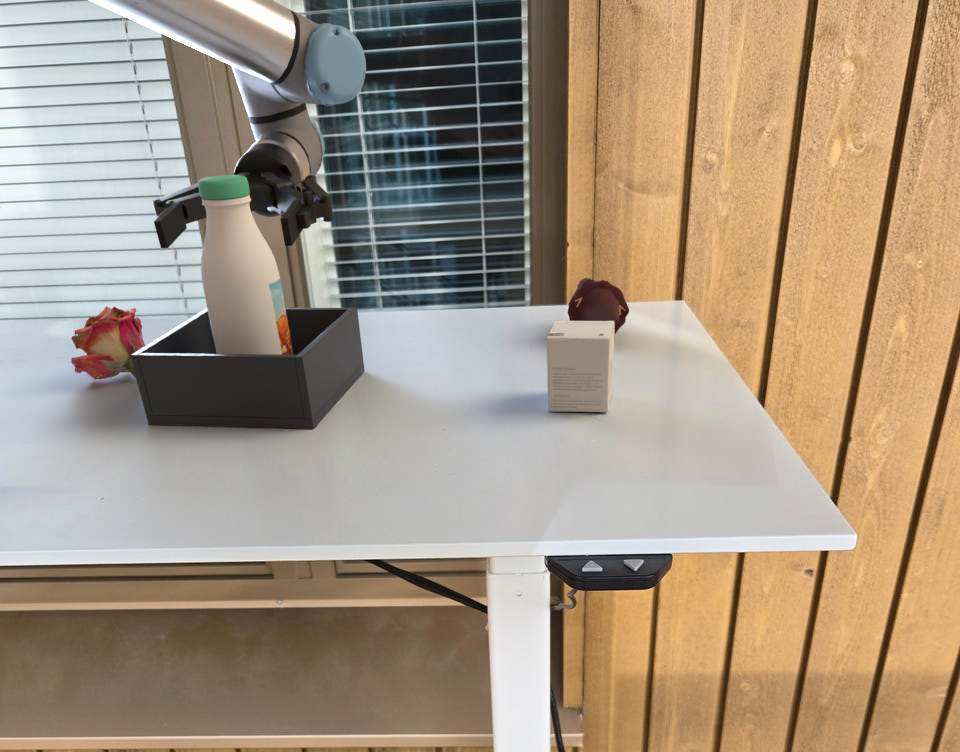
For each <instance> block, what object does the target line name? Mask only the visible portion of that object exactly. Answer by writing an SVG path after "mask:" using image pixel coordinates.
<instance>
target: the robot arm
mask: <svg viewBox="0 0 960 752" xmlns="http://www.w3.org/2000/svg"><path fill="white" fill-rule="evenodd" d="M89 1H90V2H92V3H94V4H96V5H99V6H101V7H103V8H105V9H108V10H109V11H112V12H113V13H116V14H118V15H120V16H123V17H125V18H127V19H129V20H132V21H133V22H136V23H138V24H140V25H142V26H144V27H146V28H149V29H151V30H153V31H155V32H157V33H160V34H162V35H164V36H166V37H169V38H171V39H173V40H175V41H177V42H179V43H182V44H184V45H186V46H188V47H191V48H192V49H195V50H197V51H199V52H201V53H203V54H206V55H208V56H210V57H212V58H213V59H214V58H215V59H216V60H219V61H220V62H223V63H225V64H228V65H230V66H231V69H232V72H233V75H234V78H235V81H236V84H237V88H238V90H239V93H240V95H241V99H242V102H243V105H244V107H245V110H246V114H247V118H248V121H249V124H250V128H251V131H252V132H253V137H254V140H255V142H254V143H253V144H252V145H251V146H250V147H249V148H248V149H247V150H246V152H244V154H242V156H241V157H240V158H239V159H238V160H237V163H236V165H235V167H234V171H233V175H242V176H245V177H246V178H247V180H248V184H249V191H250V194H249V195H250V199H251V201H250V203H249V205H250V210H251V212H253V213H254V214H257V215H259V216H262V217H266V218H274V217H275V218H276V217H279V216H281V215H282V216H281V217H280V219H279V220H280V224H281V230H282V236H283V242H284V246H285V247H292V246H294V244H295V242H296V241H297V239H298V238H299V236H300V234H301V233H302V231H303V230H307V229H309V228H310V227H311V226H312V225H314V224H316V223H317V219H321V220H322V222H326V223H330V222H333V221H334V220H335V219H334V212H333V206H332V198H331V195H330V194H329V193H328V192H326V190H325V189H324V188H323V187H321V185H320V184H319V183H318V182H317V181H318V180H317V176H316V175H317V174H318V172H319V171H320V169H321V167H322V162H323V159H324V156H325V150H326V145H325V140H324V136H323V134H322V132H321V130H320V128H319V127H318V126H317V124H316V123H315V122H314V121H313V119H311V118H310V114H309V111H308V107H307V105H323V106H325V107H333V106H335V105H342V104H346V103H349V102H350V101H353V100H354V99H355V98H356V97H358V95H359V94H360V92H361V90H362V89H363V86H364V84H365V79H366V73H367V62H366V55H365V53H364V49H363V46H362V45H361V43H360V41H359V39H358V38H357V36H356V35H355V34H354V33H353V32H352V31H351V30H350V29H348V28H347V27H346V26H342V25H338V24H333V23H331V22H330V23H328V22H323V23H317V22H315V21H313V20H311V19H310V18H307V17H306V16H304V15H302V14H300V13H298V12H295V11H294V10H291V9H290V8H287V7H286V6H285V5H283V4H280V3H278V2H277V1H275V0H89ZM207 177H208V176H206V177H205V178H207ZM151 202H152V206H153V210H154V213H155V217H156V219H155V220H154V221H153V225H154V228H155V232H156V236H157V237H158V238H157V239H158V243H159V247H160V249H169V248H170V247H171V246H172V245H173V243H174V242H175V241H176V240H178V238H180V236H181V235H182V234H183V233H184V232H185V231H186V230H187V229H188V227H187V224H191V223H195V222H198V221H200V220H205V219H207V214H206V208H205V206H203V205H202V198H201V196H200V192H199V187H198V182H197V183H194V184H191V185H189V186H186V187H183V188H181V189H178V190H176V191H173V192H171V193H167V194H166V195H163V196H160V197H157V198H155V199H153V200H151Z"/></svg>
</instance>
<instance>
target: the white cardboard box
mask: <svg viewBox="0 0 960 752" xmlns="http://www.w3.org/2000/svg"><path fill="white" fill-rule="evenodd" d="M614 329H615V323H614V321H569V320H555V321H554V322H553V324H552V327H551V329H550V330H549V333H548V334H547V336H546V339H545V340H546V341H545V342H546V368H547V369H546V375H547V377H546V378H547V379H546V380H547V383H546V384H547V411H548V412H549V413H550V412H551V413H552V412H554V413H555V412H556V413H557V412H561V413H562V412H566V413H567V412H568V413H569V412H573V413H574V412H575V413H581V412H582V413H608V412H609V409H610V406H611V405H610V404H611V400H612V396H613V391H614V361H615V359H614V358H615V356H614V355H615V335H614Z"/></svg>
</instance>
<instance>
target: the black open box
mask: <svg viewBox="0 0 960 752" xmlns="http://www.w3.org/2000/svg"><path fill="white" fill-rule="evenodd" d="M286 313H287V319H288V325H289V331H290V337H291V343H292V349H293V355H277V354H217V353H216V348H215V343H214V339H213V334H212V329H211V324H210V319H209V314H208V310H207V307H206V308H205V309H203V310H201V311H199V312H198V313H197V314H195V315H193V316H191V317H190V318H189V319H187V320H185V321H183V322H182V323H181V324H179V325H177V326H175V327H174V328H172V329H171V330H169V331H167V332H166V333H164V334H162V335H160V336H159V337H157V338H156V339H154V340H152V341H151V342H150V343H148V344H145V347H143V348H141V349H140V350H138V351H136V352H135V353H133V354H132V355H130V357H131V361H132V365H133V368H134V372H135V376H136V378H135V380H136V384H137V387H138V390H139V394H140V398H141V401H142V406H143V409H144V413H145V418H146V421H147V425H148V426H149V425H150V426H183V427H184V426H186V427H219V428H220V427H221V428H222V427H225V428H226V427H227V428H263V429H264V428H265V429H301V430H314V429H315V428H316V427H317V426H318V425H319V424H320V422H321V421H322V420H323V419H324V418H325V417H326V416H327V415H328V413H330V411H331V410H332V409H333V408H334V406H335V405H336V404H338V402H339V401H340V400H341V399H342V398H343V397H344V395H345V394H346V393H347V392H348V391H349V390H350V389H351V387H352V386H354V384H355V383H356V382H357V381H358V380H359V378H361V376H362V375H363V374H364V373H365V363H364V356H363V355H364V354H363V346H362V345H363V344H362V338H361V337H362V336H361V327H360V320H359V312H358V307H286Z"/></svg>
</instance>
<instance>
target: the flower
mask: <svg viewBox="0 0 960 752" xmlns="http://www.w3.org/2000/svg"><path fill="white" fill-rule="evenodd" d="M136 312H137V308H134V307H133V308H131V309H130V310H129V309H120V308H117V307H116V306H113V307H112V308H111V307H109V306H105V307H104V309H102V311H101V312H100V313H99V314H98V315H95V316H89V317H88V319H87V320H86V322H85V324H84V326H83V328H79V329H75V330H74V335H72V336H71V341H72V342H73V345H74V347H75V349H76V350H77V351H78V350H79V349H80V350H82V351H83V352H84V353H85V354H86V355H80V356H75V357H71V358H70V363H71V364H72V365H73V366H74V372H75V373H76V374H78V373H79V374H81V373H83V372H84V373H86V374H88V375H89V376H90V377H91V378H92V379H94V381H96V380H102V379H104V380H105V379H109V378H113V377H114V378H115V377H116V376H118V375H119V374H120V373H130V374H131V375H132V376H133V378H134V379H136V376H135V372H134V368H133V365H132V361H131V357H130V355H132V354H133V353H135V352H136V351H138V350H140V349H141V348H143V347H145V346H146V344H145V341H144V338H143V332H142V331H143V325H142V320H141V318H139V317H138V316H136Z"/></svg>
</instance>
